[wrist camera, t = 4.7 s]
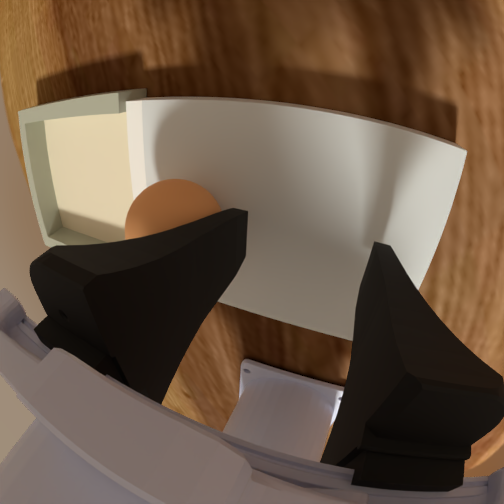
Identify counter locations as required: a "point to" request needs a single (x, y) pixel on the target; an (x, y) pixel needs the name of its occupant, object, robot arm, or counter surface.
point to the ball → (168, 207)
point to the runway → (302, 194)
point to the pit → (79, 166)
